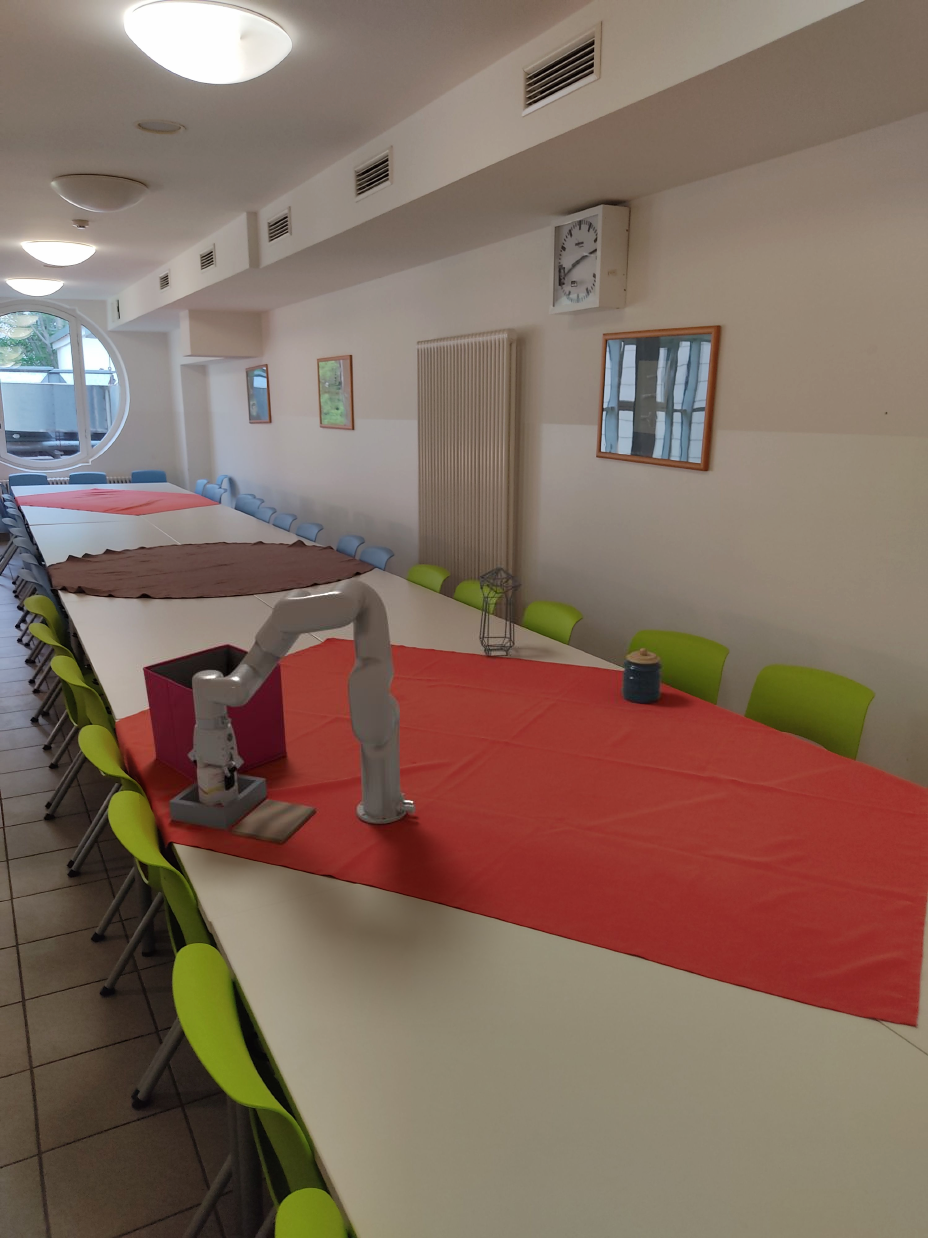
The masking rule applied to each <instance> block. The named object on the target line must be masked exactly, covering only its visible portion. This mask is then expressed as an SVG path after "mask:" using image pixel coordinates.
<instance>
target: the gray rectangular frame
mask: <svg viewBox="0 0 928 1238" xmlns="http://www.w3.org/2000/svg"><path fill="white" fill-rule="evenodd" d="M266 782H267V781H266V778H263V777H257V776H252V775H251V776H250V775H246V774H241V773H239V774H237V785H238V796H237V797H236V798H234V799H233V800H232V801H231V802H229V803H228V804H227V805H226V806H224V807H217V806H212V805H207V804H201V803H200V800H199V789H198V781H197V782H195V783H194V782H193V783H192V784H191V785H190V786H189V787H187V788H186V789H184V790H183V791H181V792H180V793H179V794H177V795H176V796H174V797H173V798H172V799H170V800H169V802H168V804H169V812H170V820H172V821H178V822H182V823H187V824H191V825H197V826H202V827H208V828H213V829H218V830H223V831H227V830H229V829H230V828H231V827H232V826H233V825H234V824H236V823H237V822H238V821H240V819H242V817H244V816H245V815H246V814H247V813H248V812H250V811H251V810H252V809H253V808H254V807H256V806H257V805H258V804H259V803H261V802H263V800H264V799H265V798H266V797H267V796H268V795H267V783H266Z"/></svg>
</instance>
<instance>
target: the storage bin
mask: <svg viewBox="0 0 928 1238" xmlns="http://www.w3.org/2000/svg"><path fill="white" fill-rule="evenodd" d="M248 652H249V651H247V650H245V649H243V648H240V647H238V646H235V645H232V644H230V643H226V644H222V645H217V646H213V647H211V648H207V649H203V650H199V651H195V652H193V653H189V654H185V655H182V656H179V657H175V658H172V659H171V658H170V659H168V660H164V661H160V662H157V663H154V664H153V663H152V664H150V665H147V666H143V667H142V671H143V677H144V681H145V682H144V684H145V689H146V696H147V703H148V707H149V715H150V723H151V729H152V735H153V743H154V750H155V751H154V752H155V759H156V760H159V761H160V762H162V763H164V764H165V765H167V766H169V768H172V769H173V770H175V771H177V772H178V773H179V774H180V775H182V776H184V777H185V778H187V779H188V780H190V781H191V782H193V784H194V783H195V782H197V781H198V778H197V767H196V766H195V765H194V763H193V761H192V760H191V759H190V758H189V757H188V754H189V753H190V752H191V751H192V750H193V749H194V728H195V725H196V717H195V707H194V697H193V687H192V678H193V676H194V675H195V674H196V673H198V672H201V671H205V670H216V671H219V672H221V673H222V674H223V676H224V677H226V676H228V675H230V674H231V673H232V672H233V671H234V670H235V669H236V668H237V667H238V666H239V664H240V663H241V662H242V660H243V659H244V658H245V656H246V655H247V654H248ZM281 669H282V668H281V663H279V662H278V663H277V665H276V666H275V667H274V669H273V670H272V671H271V673H270V674H269V676H268V677H267V678H266V680H265V681H264V682H263V684H262V685H261V686H260V688H259V689H258V690H257V691H256V692H255V693H254V695H253V696H252V697H251V698H250V700H249V701H248V702H247V703H246V704H244V705H243V706H239V707H232V706H227V715H228V718H231V723H230V724H231V726H232V728H233V731H234V735H235V739H236V745H237V752H238V755H239V756H240V758H241V759H242V760H243V761H244V763H243V764H242V765H241V766H240V767H239V768H238V769H237V770H236V771H237V774H241V773H243V772H246V771H248V770H251V769H254V768H256V767H260V766H261V765H264V764H267V763H271V762H273V761H275V760H278V759H280V758H282V757H283V758H284V757H285V756H288V751H287V745H286V744H287V743H286V742H287V741H286V727H285V717H284V716H285V715H284V714H285V713H284V699H283V685H282V670H281ZM232 761H233V760H232ZM233 762H234V761H233Z"/></svg>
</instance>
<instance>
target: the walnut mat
mask: <svg viewBox="0 0 928 1238" xmlns="http://www.w3.org/2000/svg"><path fill="white" fill-rule="evenodd" d="M315 812H316V807H315V806H307V805H302V804H298V803H297V804H296V803H292V802H291V803H290V802H287V801H286V802H285V801H279V800H274V799H267V798H266V799H265V800H264V801H262V803H260V805H258V806H257V807H256V808H254V809H253V810H252V811H251V812H250V813H249V814H248V815H247V816H246V817H244V818H243V819H242V820H241V821H240V822H238V823H237V824H236V825H235V826H233V828H232V829H230V833H231V835H236V836H241V837H247V838H252V839H258V840H261V841H268V842H271V843H272V842H273V843H278V844H281V845H283V844H285V842H286V841H287V840H288V839H289V838H291V836H292V835H293V834H294V833H295V832H296V831H298V829H299V828H300V827H301V826H302V825H304V823H305V822H307V820H308V819H310V817H312V815H313V814H315Z"/></svg>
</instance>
